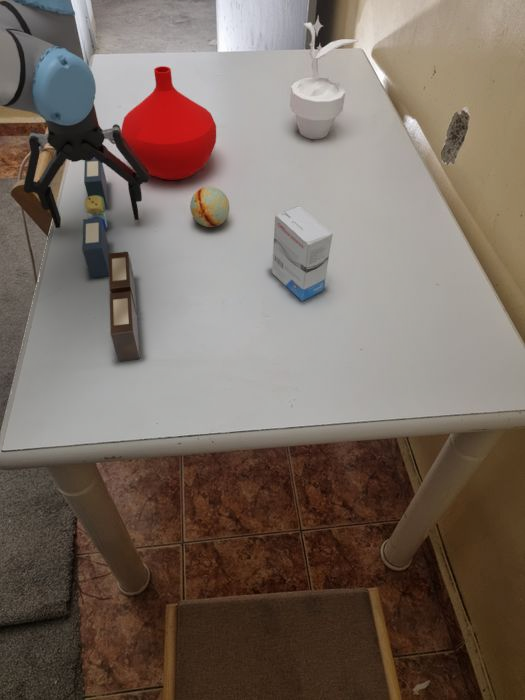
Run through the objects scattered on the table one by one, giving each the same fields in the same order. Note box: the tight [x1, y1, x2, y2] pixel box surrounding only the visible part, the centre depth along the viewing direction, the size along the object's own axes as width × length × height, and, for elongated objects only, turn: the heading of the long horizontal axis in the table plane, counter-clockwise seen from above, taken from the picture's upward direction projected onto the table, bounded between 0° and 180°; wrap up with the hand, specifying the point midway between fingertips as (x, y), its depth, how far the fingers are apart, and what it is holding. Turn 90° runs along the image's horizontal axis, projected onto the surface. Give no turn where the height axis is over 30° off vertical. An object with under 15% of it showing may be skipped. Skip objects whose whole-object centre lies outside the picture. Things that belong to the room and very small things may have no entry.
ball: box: [189, 186, 231, 228], centre depth 93 cm, size 7×7×7 cm
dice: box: [84, 195, 108, 233], centre depth 91 cm, size 8×3×6 cm, turn 11°
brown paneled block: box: [108, 251, 141, 363], centre depth 77 cm, size 3×17×6 cm, turn 11°
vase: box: [120, 65, 217, 181], centre depth 100 cm, size 18×18×19 cm
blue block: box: [81, 157, 110, 279], centre depth 91 cm, size 3×27×6 cm, turn 11°
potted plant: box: [289, 14, 359, 140], centre depth 108 cm, size 13×12×25 cm
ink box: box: [271, 205, 333, 302], centre depth 82 cm, size 8×5×12 cm, turn 34°
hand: (97, 219), depth 92 cm, fingers open, 13 cm apart
